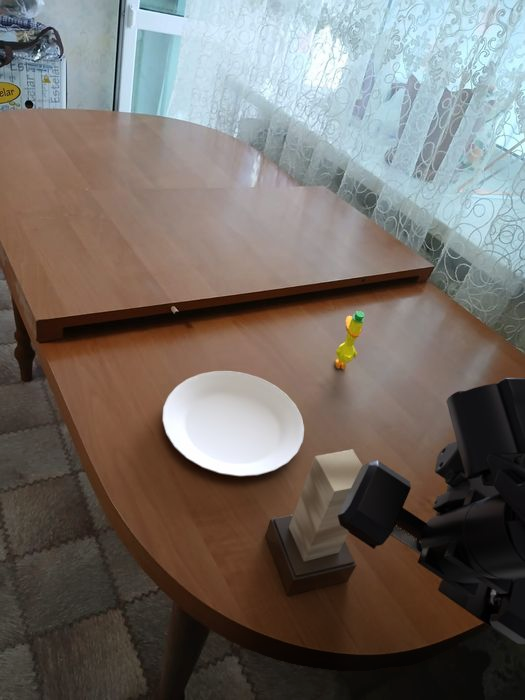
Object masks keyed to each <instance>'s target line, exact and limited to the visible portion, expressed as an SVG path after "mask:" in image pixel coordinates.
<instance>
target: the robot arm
mask: <svg viewBox="0 0 525 700" xmlns="http://www.w3.org/2000/svg"><path fill="white" fill-rule="evenodd" d="M446 406H447V409H448V412H449V413H448V414H449V416H450V421H451V425H452V429H453V432H454V437H455V441H452V442H450V443H448V444H447V445H445V446H444V447H443V448H442V449H441V450H440V451H439V453H438V454H437V457H436V462H435V468H434V473H435V474H437V475H438V476H440V477H441V478H443V479H444V483H445V484H447V487H446V492H444V493H442V494H440V495H437V496H436V498H435V501H434V503H433V506H432V509H433V510H434V511H435V512H436V513H435V515H434V516H432V517H430V518H429V519H428V520H427V521H424V520H423V519H421V518H419V517H418V516H417V515H415V514H413V513H412V512H410V511H409V510H407V509H406V508H404V505H405V503H406V501H407V498H408V496H409V494H410V491H411V489H412V487H411V481H410V480H409V479H407V478H405V477H404V476H402V475H401V474H399V473H398V472H396V471H395V470H393V469H392V468H390V467H388V466H387V465H386V464H384V463H383V462H381V461H379V460H378V459H377V460H373V461H368V462H367V463H365V464H364V465H362V467H361V469H360V471H359V473H358V475H357V477H356V479H355V481H354V483H353V485H352V487H351V489H350V491H349V493H348V495H347V497H346V499H345V501H344V503H343V505H342V507H341V509H340V512H339V514H338V519H339V523H340V525H341V526H342V527H344V528H345V529H347V530H348V531H349V533H348V534H350V535H352V536H353V537H355V538H356V539H358V540H359V541H360V542H363V543H364V544H366V546H368V547H370V548H372V549H373V550H375V549H376V548H377V547H379V546H382V545H384V544H385V543H386V541H387V540H388V539H389V537H391V536H392V538H394V539H396V540H398V541H399V542H400V543H402V544H404V545H405V546H407V547H408V548H409V549H411V550H412V551H414V552H415V553H417V554H418V555H419V557H418V560H417V564H419V565H420V566H422V567H423V568H425V569H426V570H427V571H429V572H430V573H432V574H434V575H435V576H437V577H438V578H439V579H441V581H440V582H439V586H438V589H437V591H438V592H439V593H440V594H442V595H444V597H446V598H448V599H449V600H451V601H452V602H454V603H455V604H457V605H458V606H459V607H461V608H462V609H464V610H465V611H466V612H467V613H469V614H471V615H472V616H473V617H475V618H476V619H477V620H479V621H480V622H482V623H483V624H485V625H486V626H488V627H490V628H491V629H493V630H494V631H495V632H497V633H499V634H501V635H504V636H506V638H509V639H510V640H511V641H512V642H515V644H517V645H525V377H505V378H503V379H502V380H500V381H497V382H495V383H490V384H485V385H480V386H476V387H473V388H470V389H467V390H459V391H456V392H454V393H452V394H451V395H450V396H448V398H447V399H446Z"/></svg>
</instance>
